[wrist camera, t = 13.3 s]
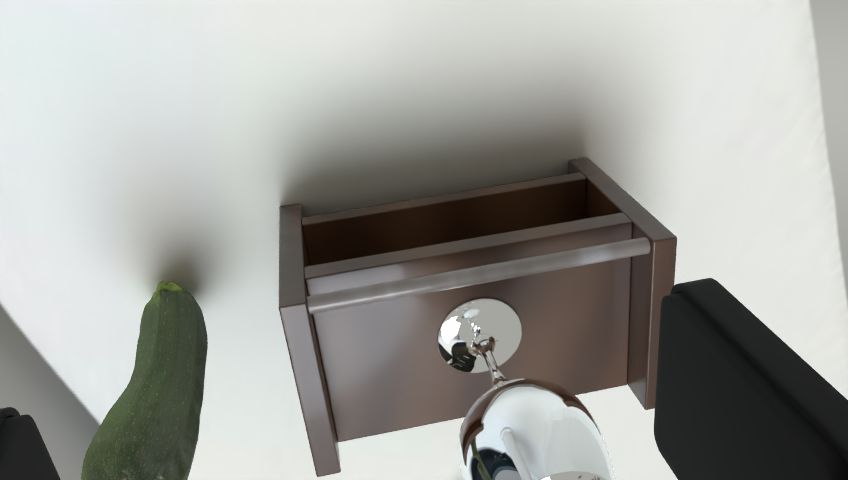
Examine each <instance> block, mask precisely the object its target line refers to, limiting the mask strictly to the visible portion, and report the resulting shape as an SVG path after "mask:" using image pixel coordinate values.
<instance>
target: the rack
mask: <svg viewBox="0 0 848 480" xmlns="http://www.w3.org/2000/svg"><path fill="white" fill-rule="evenodd" d="M676 247H677V237H676V236H675V235H674V234H673V233H672V232H670V231H669V230H668V229H667V228H666V227H665V226H664V225H663V224H661V223H660V222H659V221H658V220H657V219H656V218H655V217H654V216H652V215H651V214H650V213H649V212H648V211H647V210H646V209H645V208H644V207H642V206H641V205H640V204H639V203H638V202H637V201H636V200H635V199H633V198H632V197H631V196H630V195H629V194H628V193H627V192H626V191H625V190H623V189H622V188H621V187H620V186H619V185H618V184H617V183H616V182H614V181H613V180H612V179H611V178H610V177H609V176H608V175H607V174H605V173H604V172H603V171H602V170H601V169H600V168H599V167H598V166H597V165H595V164H594V163H593V162H592V161H591V160H590V159H589V158H587V157H586V158H580V159H574V160H569V174H566V175H560V176H554V177H548V178H542V179H536V180H529V181H523V182H517V183H511V184H505V185H499V186H493V187H487V188H481V189H474V190H468V191H462V192H456V193H450V194H444V195H438V196H432V197H426V198H419V199H413V200H407V201H401V202H395V203H389V204H383V205H377V206H371V207H364V208H358V209H352V210H346V211H340V212H334V213H328V214H322V215H316V216H309V217H303V214H302V209H301V205H300V204H294V205H288V206H282V207H280V220H279V311H280V315H281V320H282V324H283V329H284V333H285V338H286V342H287V346H288V351H289V355H290V360H291V364H292V369H293V373H294V377H295V382H296V386H297V391H298V395H299V400H300V404H301V408H302V413H303V417H304V422H305V426H306V431H307V435H308V439H309V444H310V448H311V453H312V457H313V462H314V466H315V470H316V475H317V477H320V476H325V475H330V474H335V473H339V472H340V471H341V469H340V459H339V449H338V442H342V441H347V440H352V439H357V438H362V437H367V436H372V435H377V434H382V433H387V432H392V431H397V430H402V429H407V428H412V427H417V426H422V425H427V424H432V423H437V422H442V421H447V420H452V419H457V418H462V417H466V415H467V413H468V411H469V409H470V408H471V406H472V405H473V404H474V403H475V402H476V401H477V399H478V398H480V397H481V396H482V395H483V394H484V393H486V392H487V391H488V390H489V389H491V388H492V379H491V373H490V371H487V372H482V373H465V372H461V371H458V370H456V369H453V368H452V367H450V366H449V365H448V364H446V363H445V361H444V360H443V359H442V358H441V356H440V354H439V352H438V349H437V342H436V340H437V333H438V330H439V327H440V325H441V323H442V321H443V320H444V318H445V317H446V316H447V315H448V314H449V313H450V312H451V311H452V310H453V309H455V308H456V307H457V306H459V305H461V304H463V303H465V302H468V301H470V300H474V299H480V298H492V299H497V300H500V301H503V302H505V303H507V304H508V305H510V306H511V307H512V308H513V309H514V310H515V311H516V312H517V314H518V315H519V317H520V320H521V323H522V339H521V342H520V344H519V347H518V348H517V350H516V352H515V353H514V354H513V356H512V357H511V358H510V359H509V360H508V361H506V362H505V363H504V364H502V365H501V366H499V369H500V371H501V373H502V374H503V375H504V376H505V378H507V379H508V380H509V381H510V380H514V379H519V378H537V379H543V380H547V381H551V382H554V383H556V384H558V385H560V386H562V387H564V388H565V389H567V390H568V391H570V392H571V393H572V394H573V395H578V394H583V393H588V392H593V391H598V390H603V389H608V388H613V387H618V386H623V385H627V384H628V386H629V387H630V388H631V390H632V391H633V393H634V394H635V396H636V397H637V399H638V400H639V401H640V403H641V404H642V406H643V407H644V409H645V410H648V409H653V408H655V400H656V382H657V364H658V347H659V329H660V312H661V301H662V299H663V297H664V296H667V295H670V293H671V290H672V288H673V286H674V277H675V262H676Z"/></svg>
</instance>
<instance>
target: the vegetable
mask: <svg viewBox="0 0 848 480" xmlns="http://www.w3.org/2000/svg"><path fill="white" fill-rule="evenodd" d="M207 344H208V342H207V332H206V327H205V322H204V317H203V314H202V310H201V309H200V307H199V305H198V304H197V302H196V300H195V299H194V297H193V296H192V295H191V294H190V293H188V292H186V291H183V289H182V288H181V287H179V286H177V284H175V283H173V282H169V283H168V284H165V283H164V281H162V282H161V283H159V284H158V286H157V291H156V293H154V294H153V296H152V298H151V300H150V301H149V302H148V303H147V304H146V306H145V308H144V311H143V315H142V319H141V325H140V335H139V339H138V344H137V352H136V360H135V368H134V371H133V374H132V377H131V380H130V382H129V384H128V386H127V388H126V389H125V390H124V392H123V393H122V395H121V396H120V397H119V399H118V400H117V401H116V403H115V404H114V405H113V407H112V408H111V409H110V411H109V412H108V414H107V415H106V417H105V419H104V420H103V422H102V424H101V425H100V427H99V429H98V431H97V433H96V434H95V436H94V438H93V440H92V442H91V444H90V446H89V448H88V450H87V452H86V455H85V459H84V462H83V469H82V474H81V480H187V478H188V476H189V473H190V469H191V465H192V462H193V457H194V453H195V448H196V444H197V441H198V433H199V422H200V412H201V407H202V401H203V390H204V377H205V365H206V356H207Z"/></svg>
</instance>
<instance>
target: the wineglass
mask: <svg viewBox="0 0 848 480" xmlns="http://www.w3.org/2000/svg"><path fill="white" fill-rule="evenodd" d="M521 339H522V323H521V320H520V317H519V315H518V314H517V312H516V311H515V310H514V309H513V308H512V307H511V306H510V305H508V304H507V303H505V302H503V301H500V300H497V299H492V298H480V299H474V300H470V301H468V302H465V303H463V304H461V305H459V306H457V307H456V308H455V309H453V310H452V311H451V312H450V313H449V314H448V315H447V316H446V317H445V318H444V320H443V321H442V323H441V325H440V327H439V330H438V333H437V340H436V342H437V349H438V352H439V354H440V356H441V358H442V359H443V360H444V361H445V363H446V364H448V365H449V366H450V367H452V368H453V369H456V370H458V371H461V372H465V373H482V372H487V371H490V373H491V379H492V388H491V389H489V390H488V391H487V392H486V393H484V394H483V395H482V396H481V397H480V398H478V399H477V401H476V402H475V403H474V404H473V405H472V406H471V408H470V409H469V411H468V413H467V415H466V417H465V419H464V421H463V423H462V426H461V429H460V433H459V440H458V454H459V463H460V469H461V473H462V477H463V480H616V476H615V472H614V469H613V465H612V461H611V458H610V455H609V452H608V449H607V446H606V443H605V441H604V438H603V436H602V434H601V431H600V429H599V427H598V425H597V423H596V422H595V420H594V418H593V417H592V415H591V413H590V412H589V411H588V410H587V408H586V407H585V406H584V405H583V404H582V402H581V401H580V400H579V399H578V398H577V397H576V396H575V395H573V394H572V393H571V392H570V391H568V390H567V389H565V388H564V387H562V386H560V385H558V384H556V383H554V382H551V381H547V380H543V379H537V378H519V379H514V380H510V381H509V380H508V379H507V378H505V376H504V375H503V374H502V373H501V371H500V369H499V366H501V365H502V364H504V363H505V362H506V361H508V360H509V359H510V358H511V357H512V356H513V354H514V353H515V352H516V350H517V348H518V347H519V344H520V342H521Z"/></svg>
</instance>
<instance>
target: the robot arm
mask: <svg viewBox="0 0 848 480" xmlns="http://www.w3.org/2000/svg"><path fill="white" fill-rule="evenodd" d="M654 435H655V440H656V444H657V446H658V449H659V451H660V453H661V454H662V456H663V457H664V459H665V460H666V462H667V464H668V465H669V467H670V468H671V470H672V471H673V473H674V474H675V476H676V477H677V479H678V480H848V400H847V399H846V398H845V397H844V396H842V395H841V394H840V393H839V392H838V391H837V390H836V389H835V388H834V387H833V386H832V385H830V384H829V383H828V382H827V381H826V380H825V379H824V378H823V377H822V376H821V375H819V374H818V373H817V372H816V371H815V370H814V369H813V368H812V367H811V366H810V365H808V364H807V363H806V362H805V361H804V360H803V359H802V358H801V357H800V356H799V355H797V354H796V353H795V352H794V351H793V350H792V349H791V348H790V347H789V346H788V345H787V344H785V343H784V342H783V341H782V340H781V339H780V338H779V337H778V336H777V335H776V334H774V333H773V332H772V331H771V330H770V329H769V328H768V327H767V326H766V325H765V324H763V323H762V322H761V321H760V320H759V319H758V318H757V317H756V316H755V315H754V314H753V313H751V312H750V311H749V310H748V309H747V308H746V307H745V306H744V305H743V304H742V303H740V302H739V301H738V300H737V299H736V298H735V297H734V296H733V295H732V294H731V293H729V292H728V291H727V290H726V289H725V288H724V287H723V286H722V285H721V284H720V283H719V282H717V281H716V280H714V279H712V278H707V279H702V280H696V281H691V282H686V283H680V284H676V285H674V286H673V288H672V290H671V293H670V295H667V296H664V297H663V299H662V301H661V312H660V329H659V347H658V364H657V382H656V400H655V417H654ZM0 480H60V477H59V475H58V473H57V471H56V469H55V466H54V464H53V462H52V460H51V457H50V455H49V453H48V451H47V448H46V446H45V444H44V441H43V439H42V437H41V435H40V432H39V430H38V428H37V426H36V424H35V422H34V420H33V418H32V417H31V416H30V415H21V416H20V414H19V412H18V411H17V410H16V409H14V408H11V407H7V408H3V409H0Z"/></svg>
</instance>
